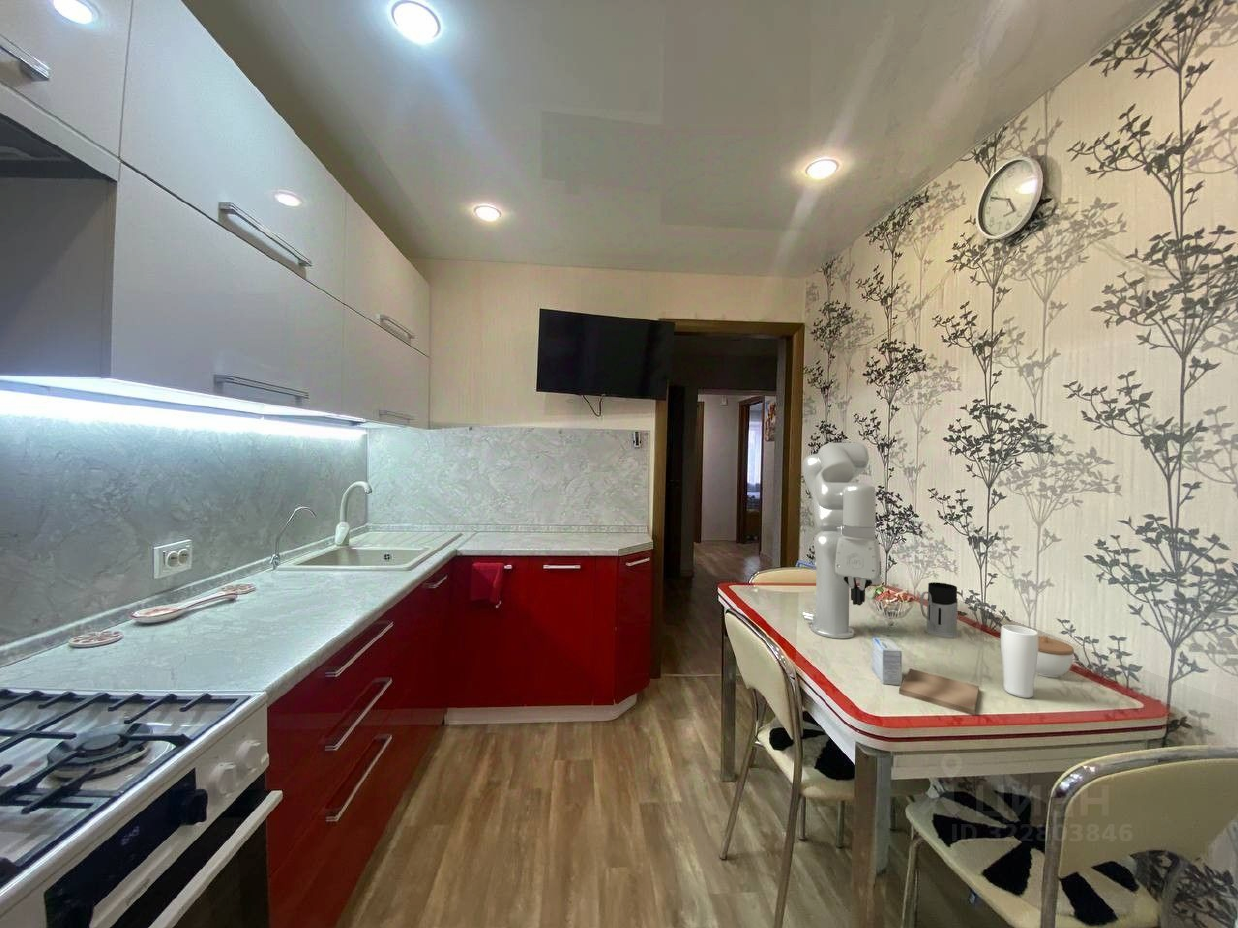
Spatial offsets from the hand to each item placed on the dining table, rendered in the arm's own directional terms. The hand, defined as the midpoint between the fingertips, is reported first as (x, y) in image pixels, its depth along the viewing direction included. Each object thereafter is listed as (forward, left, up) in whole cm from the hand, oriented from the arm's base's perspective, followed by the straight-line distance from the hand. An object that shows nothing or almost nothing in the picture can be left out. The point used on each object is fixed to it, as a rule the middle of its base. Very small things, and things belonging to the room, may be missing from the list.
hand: (857, 603), depth 122 cm
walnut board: (+18, 0, -17) cm, 25 cm away
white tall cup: (+32, +12, -17) cm, 38 cm away
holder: (+12, +44, -17) cm, 49 cm away
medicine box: (+7, 0, -18) cm, 19 cm away
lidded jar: (+37, +31, -18) cm, 51 cm away
